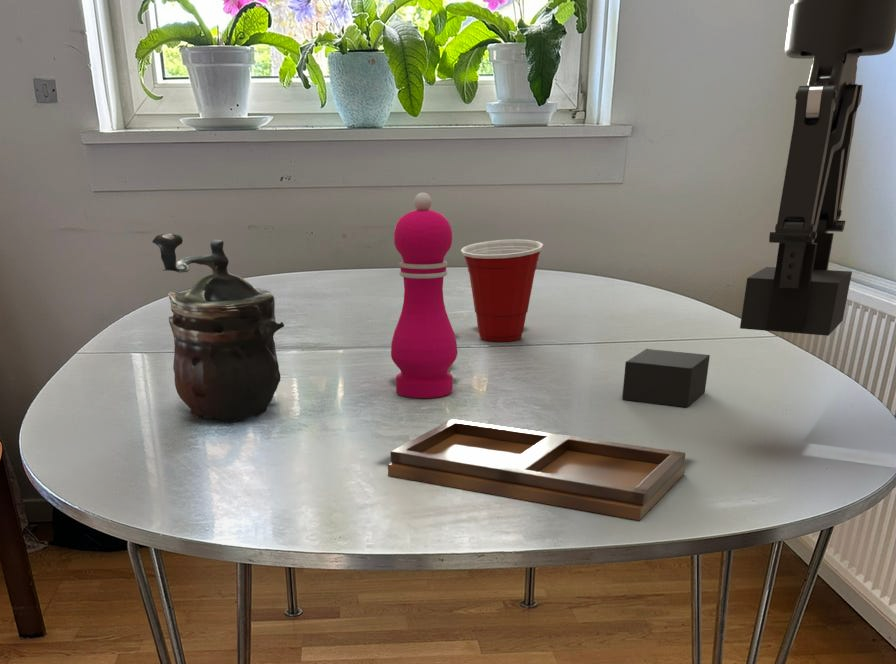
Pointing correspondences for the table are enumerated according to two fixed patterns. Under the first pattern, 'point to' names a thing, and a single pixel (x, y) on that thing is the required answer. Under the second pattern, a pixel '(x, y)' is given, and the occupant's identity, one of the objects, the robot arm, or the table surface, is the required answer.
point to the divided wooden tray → (541, 467)
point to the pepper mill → (423, 305)
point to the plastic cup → (501, 285)
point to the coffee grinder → (221, 338)
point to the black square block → (821, 306)
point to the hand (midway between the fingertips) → (794, 321)
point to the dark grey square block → (665, 377)
